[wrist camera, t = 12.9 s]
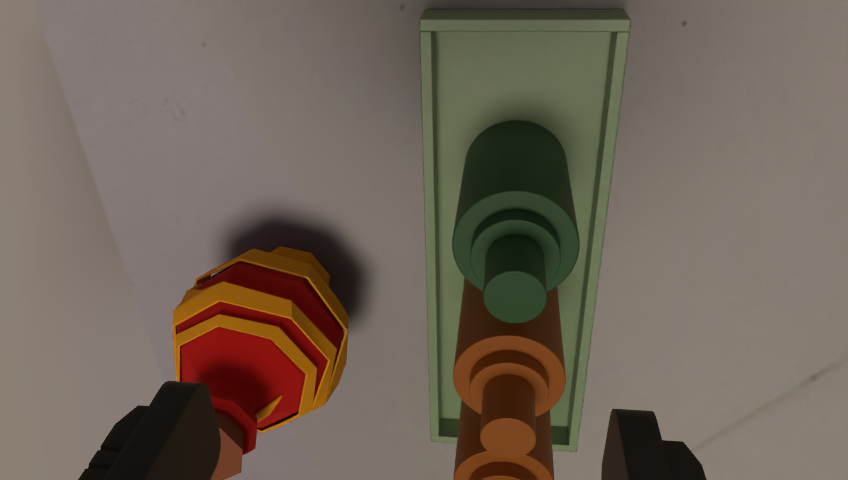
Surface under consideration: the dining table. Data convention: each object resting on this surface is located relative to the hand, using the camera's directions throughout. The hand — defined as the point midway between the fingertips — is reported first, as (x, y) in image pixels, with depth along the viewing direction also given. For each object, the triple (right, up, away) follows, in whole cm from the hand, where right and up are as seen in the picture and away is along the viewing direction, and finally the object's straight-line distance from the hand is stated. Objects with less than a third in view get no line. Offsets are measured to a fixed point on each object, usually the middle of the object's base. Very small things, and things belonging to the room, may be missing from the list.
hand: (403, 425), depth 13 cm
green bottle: (+6, +8, +25) cm, 27 cm away
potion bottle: (-8, +1, +32) cm, 33 cm away
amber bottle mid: (+6, +1, +29) cm, 30 cm away
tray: (+6, +3, +28) cm, 29 cm away
